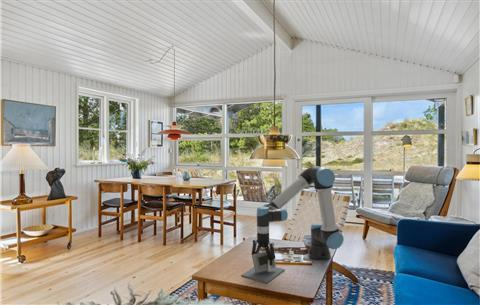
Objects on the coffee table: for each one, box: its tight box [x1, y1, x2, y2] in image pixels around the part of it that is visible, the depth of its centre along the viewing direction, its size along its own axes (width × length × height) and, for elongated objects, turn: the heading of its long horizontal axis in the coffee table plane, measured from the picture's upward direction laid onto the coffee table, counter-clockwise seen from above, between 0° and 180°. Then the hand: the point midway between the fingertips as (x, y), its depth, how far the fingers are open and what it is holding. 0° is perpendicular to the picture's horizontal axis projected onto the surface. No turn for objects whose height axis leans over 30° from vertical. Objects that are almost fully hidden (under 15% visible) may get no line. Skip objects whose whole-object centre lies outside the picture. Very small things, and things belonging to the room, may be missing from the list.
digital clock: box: [251, 250, 277, 273], centre depth 200 cm, size 16×9×11 cm, turn 116°
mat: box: [240, 266, 286, 284], centre depth 200 cm, size 22×18×1 cm
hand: (263, 268), depth 200 cm, fingers closed on digital clock, 8 cm apart
